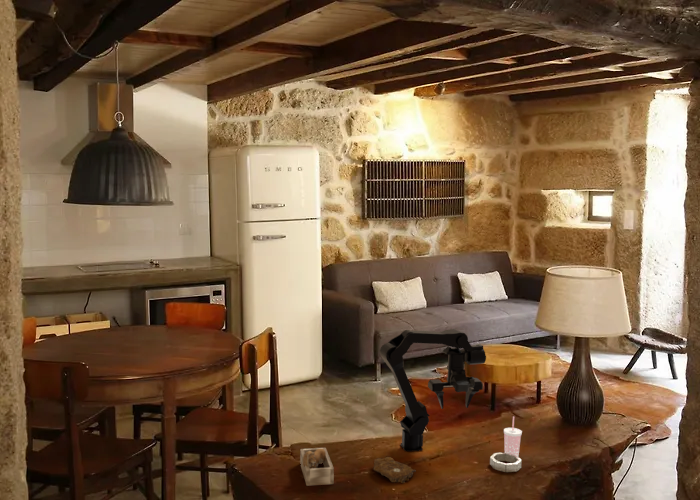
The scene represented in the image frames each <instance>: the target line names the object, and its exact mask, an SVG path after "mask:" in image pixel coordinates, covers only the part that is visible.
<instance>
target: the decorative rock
mask: <svg viewBox="0 0 700 500" xmlns="http://www.w3.org/2000/svg"><path fill="white" fill-rule="evenodd" d="M373 462H374V463H373V471H375V472H377V473H379V474H381V476H385V477H386V478H387V479H388V480H389V481H390V482H391V483H401V484H406V482H409V479H410V478H413V475H414V473H416V469H413V468H412V466H410V465H408V464H406V463H402V462H399V461H396V460H395V459H394V458H393V457H391V456H386V457H384V458H382V457H381V458H379V457H378V458H376V459H374V460H373Z"/></svg>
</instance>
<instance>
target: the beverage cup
mask: <svg viewBox="0 0 700 500" xmlns="http://www.w3.org/2000/svg"><path fill="white" fill-rule="evenodd" d="M511 426H512V427H505V428H503V434H504V435H503V437H504V439H503V440H504V453H510V454H514V455H516V456H518V457H519V455H520V454H519V453H520V448H521V447H520V445H521V438H522V433H523V430H521V429H519V428H516V427H515V416H512V425H511Z"/></svg>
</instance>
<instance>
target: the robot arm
mask: <svg viewBox="0 0 700 500" xmlns="http://www.w3.org/2000/svg"><path fill="white" fill-rule="evenodd" d="M413 344H430V345H431V344H432V345H433V344H434V345H444V346H446V348H444V349H443V350H442V353H444V354H445V355H448V360H447V366H446V369H447V377H446V381H444V382H442V380H440V378H439V379H429V381H428V383H427V388H428V389H429V390H431V392H433V393H435V394H436V397H437V399H438V402H439V405H440V408H441V409H442V410H443V409H444V394H445V392H444V391H443V390H444V389H446V388H449V389H450V388H454V391H455V392H456V393H461V392H462V393H463V392H465V408H467V409H468V408H469V406H470V403H471V402H472V399H473V397H474V395H475V394H476V393H479V392H480V391H483V389H484V384H483V383H484V382H482V381H481V380H480V379H479V378H478V377H474V376H467V375H466V374H467V373H466V369H465V363H466V364H467V365H483V364H485V363H486V362H487V355H486V351H485V350H484V345H482V344H481V343H479V344H476V345H474V344H473V345H471V343H470V342H469V339H468V335H467V333H464V332H462V331H461V330H459V329H456V328H450V329H445V330H442V331H427V330H426V331H425V330H410V329H406V330H403V331H402V332H401V333H400V334H398V335H396V336H395V337H393V338H391V339H390V340H388V342H386V343H384V344H382V346H381V347H380V349H379V355H380V357H381V358H382V360H383V361H384V363H385V364H386V366H387V367H388V368H389V369H390V370H391V374H392V376H393V379H394V381H395V382H396V385H397V388H398V390H399V392H400V395H401V398H402V399H403V403H404V405H405V407H404V411H405V416H404V417H403V418H401V420H400V422H399V423H400V427H401V428H403V429H402V432H401V433H402V434H401V442H400V446H401V447H402V449H403V451H404V452H415V451H417V452H418V451H419V450H420V451H423V445H424V432H425V429H426V428H427V426H428V425H429V423H430V422H429V421H430V418H429V417H430V415H429V413H428V409H427V406H426V405H424V404H423V403H422V402H421V401H419V400H417V397H416V395H415V391H414V390H413V387H412V385H411V382H410V380H409V378H408V376H407V373H406V371H405V368H404V357H403V356H404V355H405V354H406V353H408V350H409V349H410V348H411V346H412V345H413Z"/></svg>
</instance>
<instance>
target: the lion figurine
mask: <svg viewBox="0 0 700 500" xmlns="http://www.w3.org/2000/svg"><path fill="white" fill-rule="evenodd" d="M325 455H326V452H325V450H324V449H317V450H316V451H315V452H311V451H307V452H305V453H304V455H303V465H304V467H305V465H306V466H309V468H310V469H311V468H319V460H320V459H322V460H323V463H324V462H325Z"/></svg>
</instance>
